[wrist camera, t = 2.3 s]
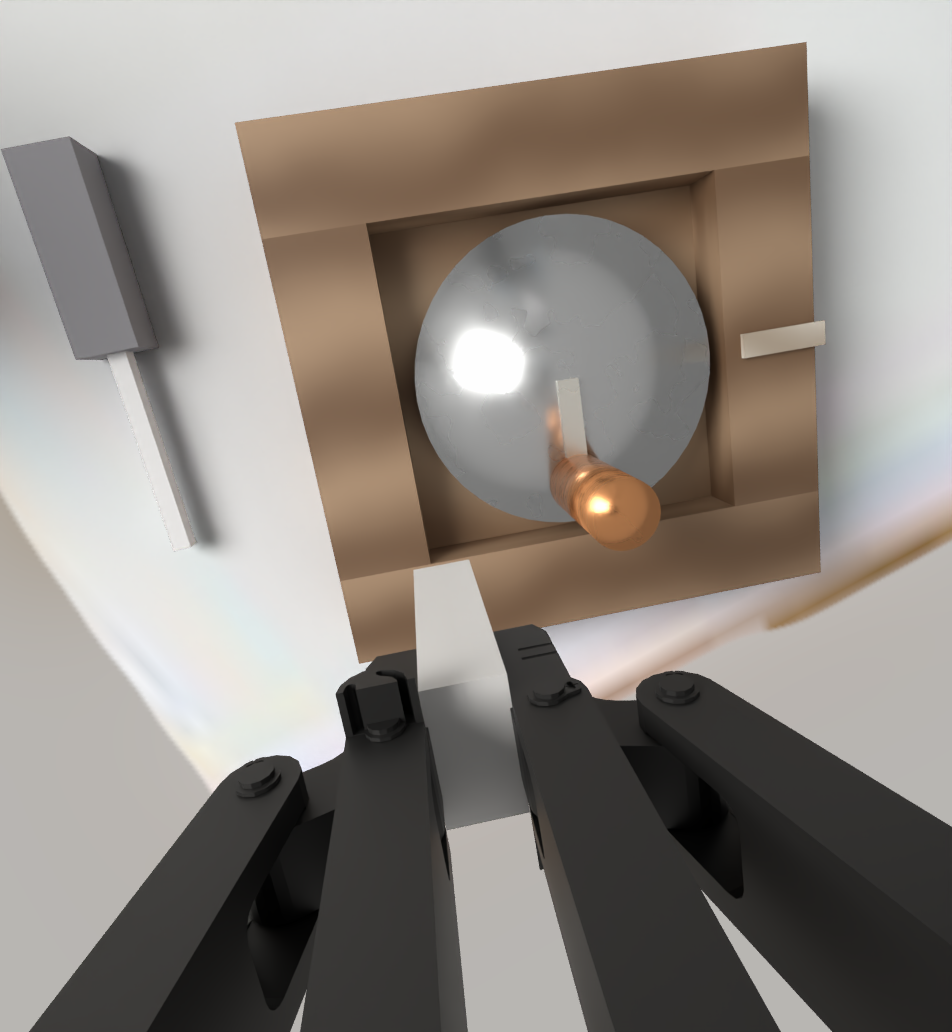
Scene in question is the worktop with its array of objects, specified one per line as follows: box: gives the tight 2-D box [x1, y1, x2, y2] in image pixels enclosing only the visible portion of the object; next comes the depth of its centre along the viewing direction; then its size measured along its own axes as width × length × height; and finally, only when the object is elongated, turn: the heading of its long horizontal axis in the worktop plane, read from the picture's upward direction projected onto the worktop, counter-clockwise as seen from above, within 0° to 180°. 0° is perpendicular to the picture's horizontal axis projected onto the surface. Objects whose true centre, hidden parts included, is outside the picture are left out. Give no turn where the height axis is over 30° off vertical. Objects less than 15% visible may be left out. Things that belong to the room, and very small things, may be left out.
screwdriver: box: [1, 137, 196, 551], centre depth 28 cm, size 17×3×2 cm, turn 12°
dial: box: [414, 214, 710, 551], centre depth 25 cm, size 13×13×8 cm
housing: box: [235, 42, 825, 664], centre depth 29 cm, size 22×22×5 cm
